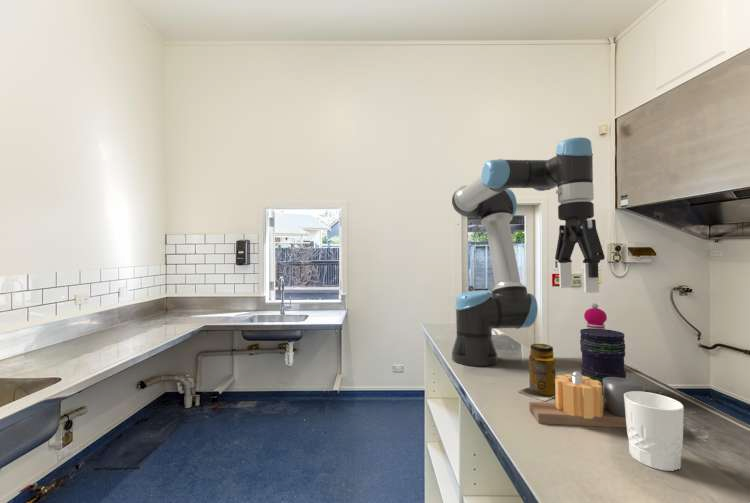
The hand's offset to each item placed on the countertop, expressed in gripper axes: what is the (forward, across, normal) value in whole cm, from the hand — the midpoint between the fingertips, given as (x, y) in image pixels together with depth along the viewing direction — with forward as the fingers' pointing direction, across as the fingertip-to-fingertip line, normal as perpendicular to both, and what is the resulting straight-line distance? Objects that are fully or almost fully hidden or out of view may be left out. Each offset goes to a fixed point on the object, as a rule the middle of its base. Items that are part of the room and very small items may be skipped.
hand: (577, 289), depth 82 cm
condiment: (+27, -4, -8) cm, 28 cm away
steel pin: (+25, +10, -5) cm, 27 cm away
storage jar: (+27, -8, +9) cm, 30 cm away
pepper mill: (+27, -28, +17) cm, 42 cm away
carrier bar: (+27, +10, -3) cm, 29 cm away
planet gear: (+25, +10, -5) cm, 27 cm away
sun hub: (+25, +10, +4) cm, 27 cm away
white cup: (+27, +24, +1) cm, 36 cm away
